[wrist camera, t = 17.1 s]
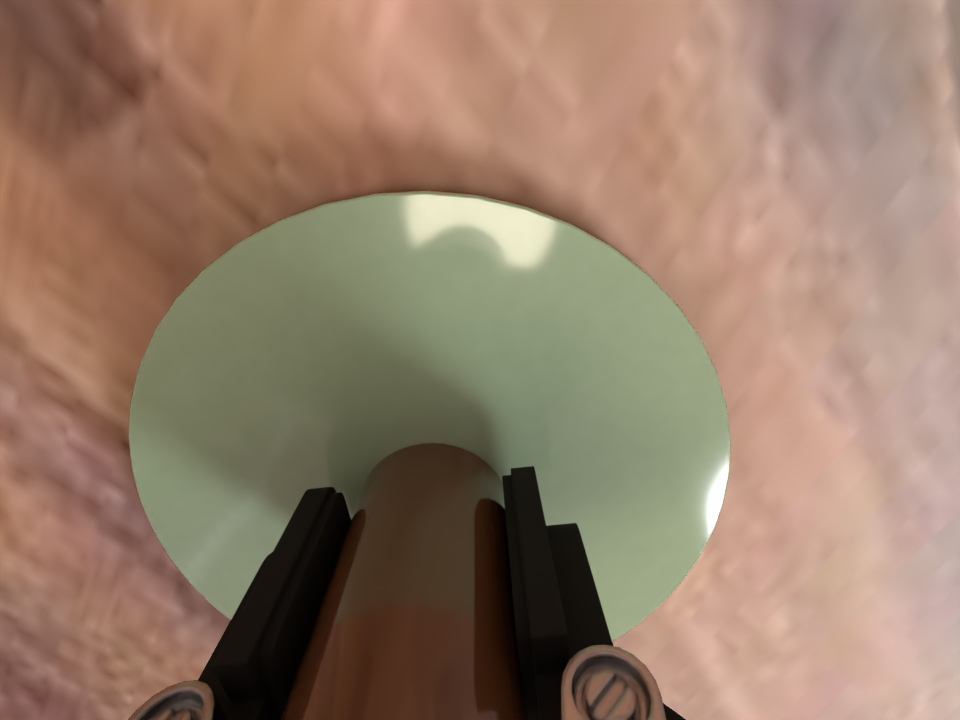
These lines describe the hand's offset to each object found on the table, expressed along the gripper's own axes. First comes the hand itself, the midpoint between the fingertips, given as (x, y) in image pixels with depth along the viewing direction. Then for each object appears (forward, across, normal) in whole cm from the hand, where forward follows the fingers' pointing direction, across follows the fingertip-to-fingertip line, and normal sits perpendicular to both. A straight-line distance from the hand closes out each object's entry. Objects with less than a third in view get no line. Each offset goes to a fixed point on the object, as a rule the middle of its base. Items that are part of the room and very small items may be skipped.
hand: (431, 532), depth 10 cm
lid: (+1, 0, 0) cm, 1 cm away
